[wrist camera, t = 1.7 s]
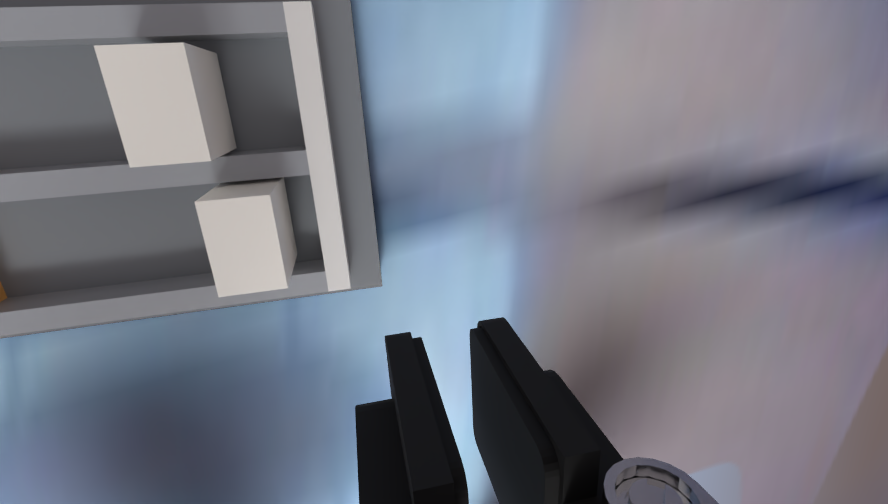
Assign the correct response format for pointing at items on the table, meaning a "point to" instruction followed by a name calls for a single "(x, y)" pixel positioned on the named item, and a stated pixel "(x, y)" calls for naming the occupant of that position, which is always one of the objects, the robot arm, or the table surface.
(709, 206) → the table surface
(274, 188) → the tab
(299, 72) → the switch board
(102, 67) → the tab
